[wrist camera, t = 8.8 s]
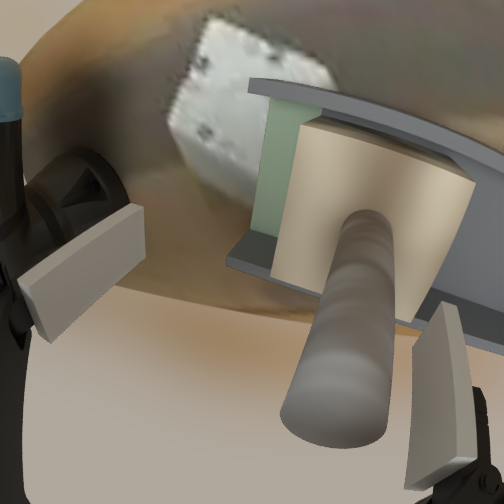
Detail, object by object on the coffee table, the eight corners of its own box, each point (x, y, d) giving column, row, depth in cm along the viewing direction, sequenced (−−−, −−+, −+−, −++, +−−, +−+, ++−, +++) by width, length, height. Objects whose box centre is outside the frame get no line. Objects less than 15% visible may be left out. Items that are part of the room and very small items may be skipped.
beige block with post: (295, 232, 27) (176, 428, 11) (321, 115, 21) (159, 199, 6) (406, 268, 24) (398, 498, 9) (449, 156, 19) (585, 342, 4)
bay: (253, 233, 30) (225, 265, 25) (278, 79, 22) (249, 77, 17) (523, 323, 23) (537, 365, 18) (585, 204, 15) (618, 233, 10)
